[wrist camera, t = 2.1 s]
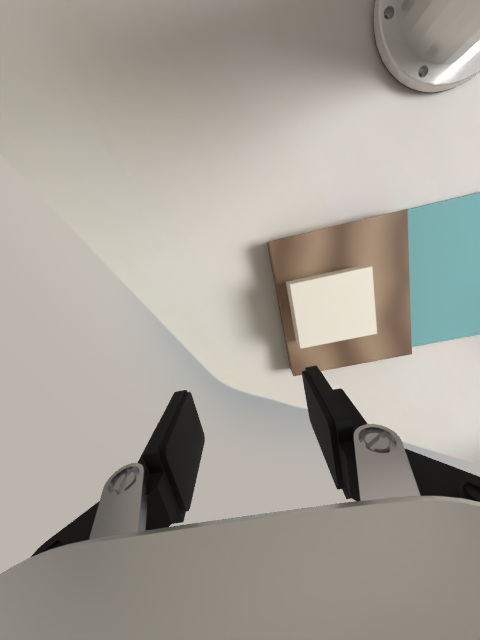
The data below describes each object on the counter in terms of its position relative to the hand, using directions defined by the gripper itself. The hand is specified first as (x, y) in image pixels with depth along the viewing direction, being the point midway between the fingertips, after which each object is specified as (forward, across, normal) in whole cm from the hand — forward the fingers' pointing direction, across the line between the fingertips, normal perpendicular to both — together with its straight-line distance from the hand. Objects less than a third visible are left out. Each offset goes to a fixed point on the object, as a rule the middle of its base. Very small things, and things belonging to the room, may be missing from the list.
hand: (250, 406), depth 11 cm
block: (+14, -9, 0) cm, 17 cm away
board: (+18, -11, 0) cm, 21 cm away
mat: (+18, -26, 0) cm, 31 cm away
